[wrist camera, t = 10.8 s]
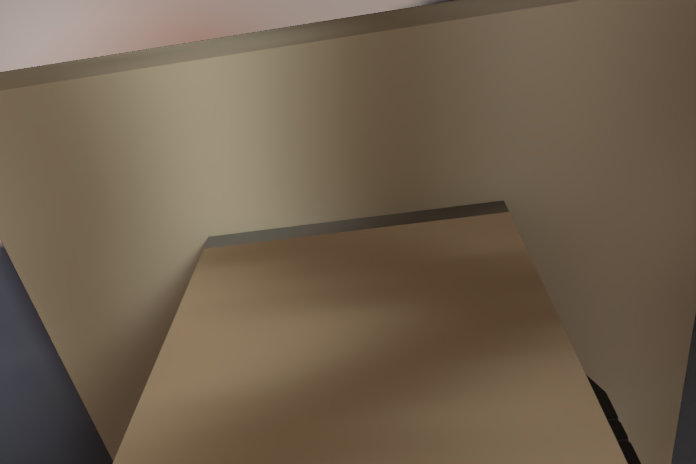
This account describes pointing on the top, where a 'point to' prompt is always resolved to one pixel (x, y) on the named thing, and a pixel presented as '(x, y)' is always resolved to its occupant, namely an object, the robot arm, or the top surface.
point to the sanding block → (370, 352)
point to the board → (369, 173)
